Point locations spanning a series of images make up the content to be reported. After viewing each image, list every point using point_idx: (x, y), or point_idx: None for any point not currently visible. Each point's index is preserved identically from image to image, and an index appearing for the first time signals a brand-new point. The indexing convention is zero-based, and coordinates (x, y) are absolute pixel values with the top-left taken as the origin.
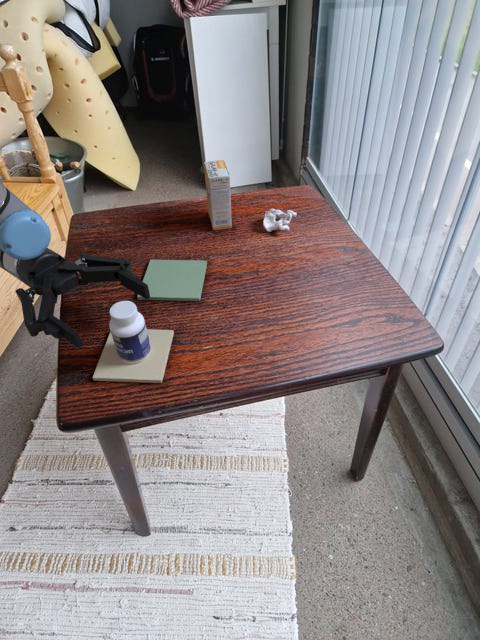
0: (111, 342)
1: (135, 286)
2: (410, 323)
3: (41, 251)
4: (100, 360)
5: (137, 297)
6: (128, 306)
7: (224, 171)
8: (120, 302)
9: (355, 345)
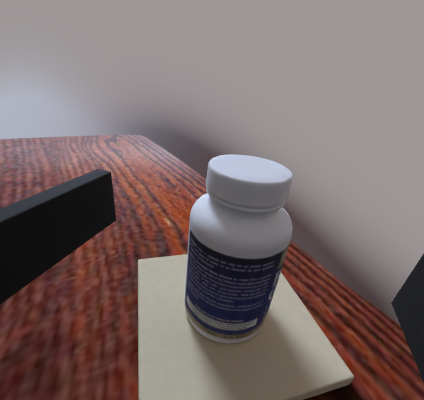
0: (214, 394)
1: (73, 214)
2: (118, 137)
3: None
4: (295, 389)
5: None
6: (231, 162)
7: None
8: (225, 172)
9: (146, 151)
